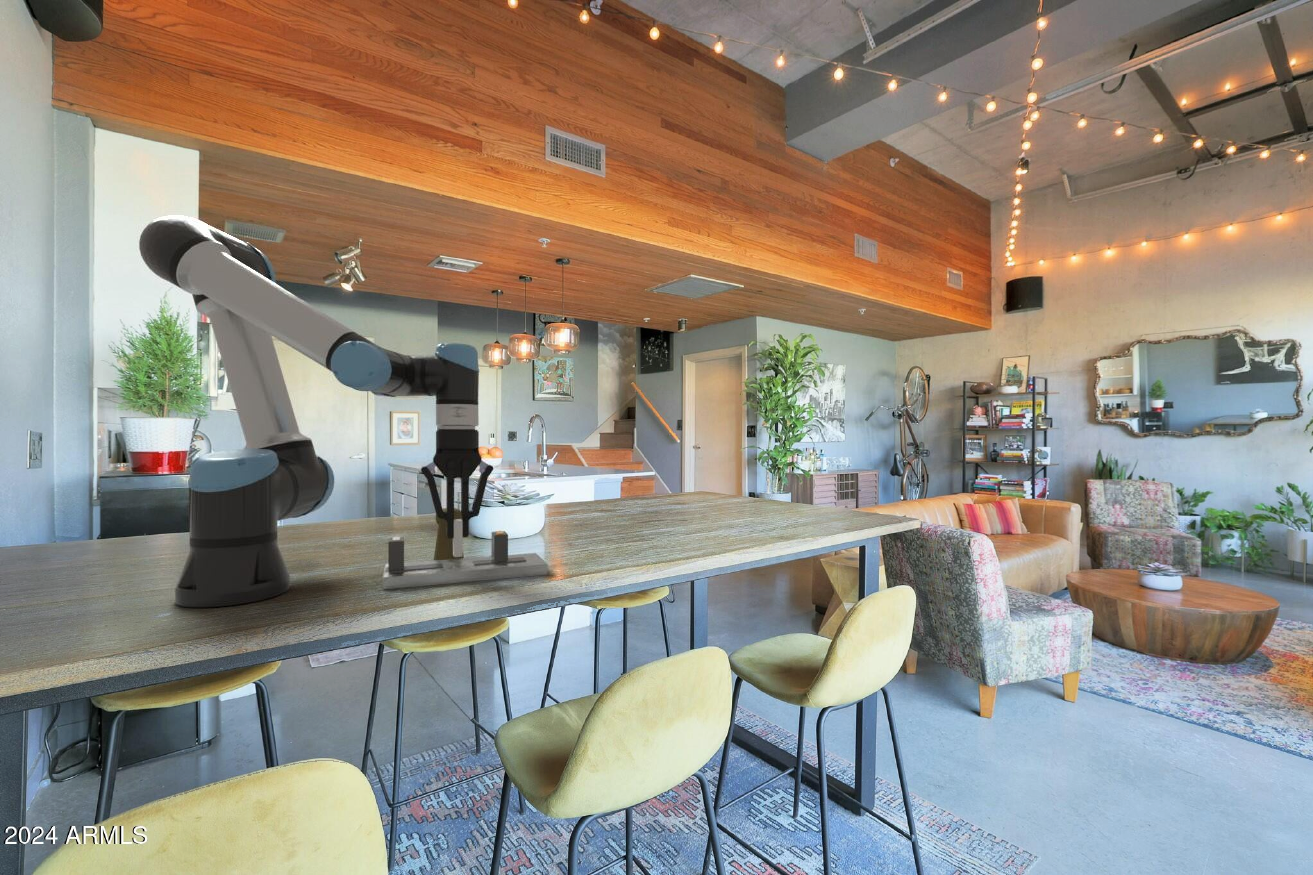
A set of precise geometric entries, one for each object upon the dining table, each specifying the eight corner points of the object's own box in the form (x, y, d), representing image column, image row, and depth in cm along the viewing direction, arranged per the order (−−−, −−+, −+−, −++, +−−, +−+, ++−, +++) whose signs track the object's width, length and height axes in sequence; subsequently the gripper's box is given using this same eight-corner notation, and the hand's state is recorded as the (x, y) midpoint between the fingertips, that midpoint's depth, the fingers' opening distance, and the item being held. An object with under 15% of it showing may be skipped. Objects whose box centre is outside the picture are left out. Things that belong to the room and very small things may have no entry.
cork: (454, 565, 118) (454, 510, 118) (427, 564, 119) (427, 509, 119) (469, 559, 123) (469, 506, 123) (443, 557, 125) (443, 506, 125)
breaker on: (388, 570, 103) (388, 540, 103) (389, 565, 106) (389, 537, 106) (403, 569, 104) (404, 539, 104) (404, 564, 107) (404, 536, 107)
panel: (382, 589, 99) (382, 576, 99) (385, 575, 109) (385, 563, 109) (547, 574, 110) (547, 562, 110) (535, 562, 120) (535, 551, 120)
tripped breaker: (494, 562, 110) (494, 534, 110) (491, 557, 113) (491, 530, 113) (507, 560, 111) (508, 533, 111) (504, 556, 114) (504, 530, 114)
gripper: (420, 427, 103) (420, 562, 103) (496, 428, 108) (496, 556, 108) (419, 428, 110) (419, 554, 110) (491, 428, 115) (491, 549, 115)
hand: (457, 555), depth 109 cm, fingers closed
